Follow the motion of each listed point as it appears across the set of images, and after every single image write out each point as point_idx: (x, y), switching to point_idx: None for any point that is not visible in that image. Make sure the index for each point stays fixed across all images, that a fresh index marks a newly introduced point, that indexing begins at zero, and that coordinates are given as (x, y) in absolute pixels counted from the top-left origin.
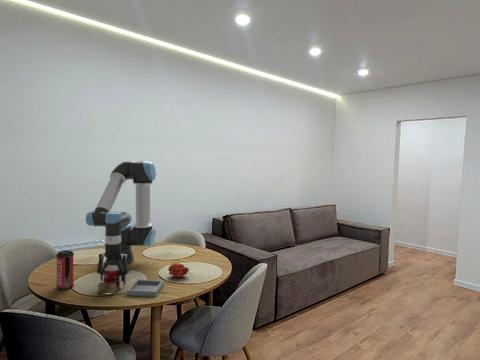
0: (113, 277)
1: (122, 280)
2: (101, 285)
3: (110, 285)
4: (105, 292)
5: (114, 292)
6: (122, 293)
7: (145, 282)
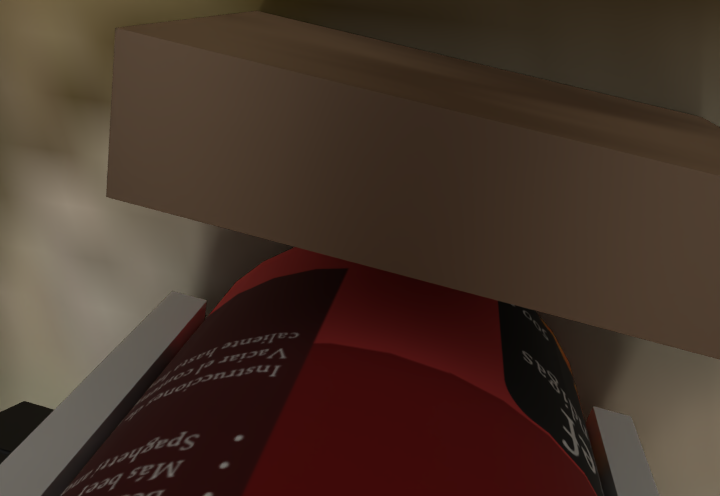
0: (194, 464)
1: (30, 432)
2: (687, 159)
3: (306, 71)
4: (501, 75)
5: (237, 14)
6: (94, 81)
7: None
